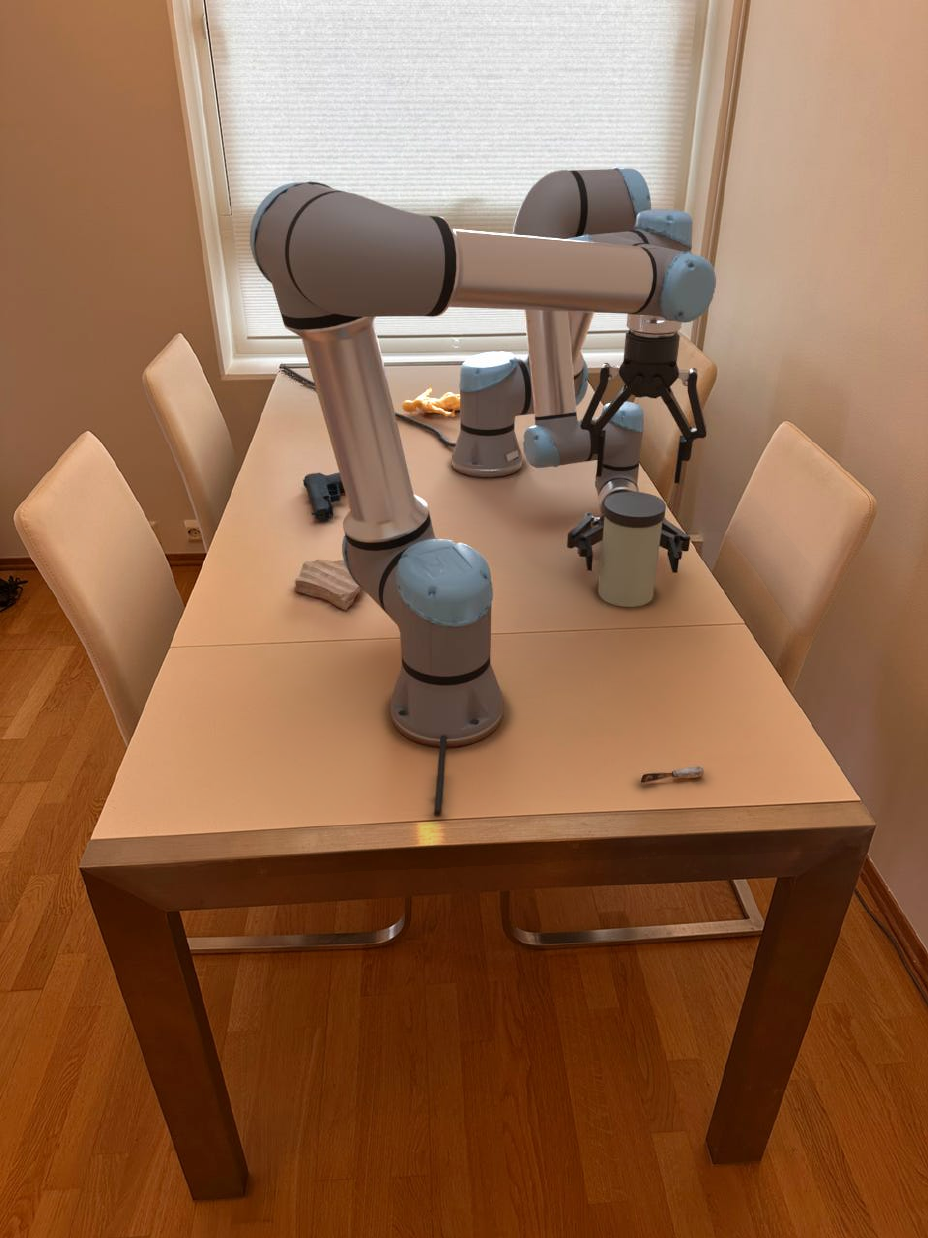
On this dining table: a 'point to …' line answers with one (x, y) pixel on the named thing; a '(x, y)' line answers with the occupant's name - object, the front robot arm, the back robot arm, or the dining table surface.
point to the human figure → (434, 403)
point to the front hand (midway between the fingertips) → (637, 476)
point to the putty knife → (674, 774)
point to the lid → (634, 509)
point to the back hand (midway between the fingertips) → (632, 564)
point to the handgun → (323, 493)
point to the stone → (328, 582)
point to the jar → (628, 564)
